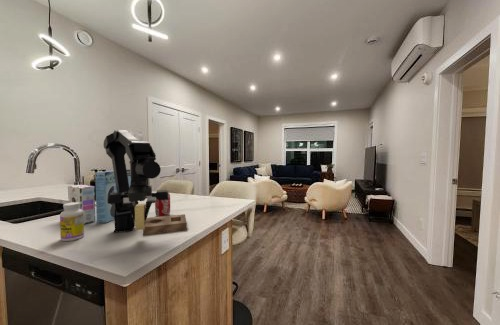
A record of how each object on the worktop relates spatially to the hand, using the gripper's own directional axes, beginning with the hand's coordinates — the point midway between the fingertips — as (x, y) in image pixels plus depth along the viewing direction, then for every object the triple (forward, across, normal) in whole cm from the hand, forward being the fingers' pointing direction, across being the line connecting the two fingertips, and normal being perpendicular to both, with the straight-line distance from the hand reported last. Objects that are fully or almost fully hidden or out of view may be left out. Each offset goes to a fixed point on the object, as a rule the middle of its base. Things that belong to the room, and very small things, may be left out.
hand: (140, 220), depth 76 cm
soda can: (+7, +6, +31) cm, 33 cm away
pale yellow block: (+3, 0, 0) cm, 3 cm away
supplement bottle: (+8, -24, +11) cm, 28 cm away
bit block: (+7, +8, +12) cm, 16 cm away
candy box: (+7, -29, +35) cm, 46 cm away
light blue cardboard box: (+8, -16, +37) cm, 41 cm away
